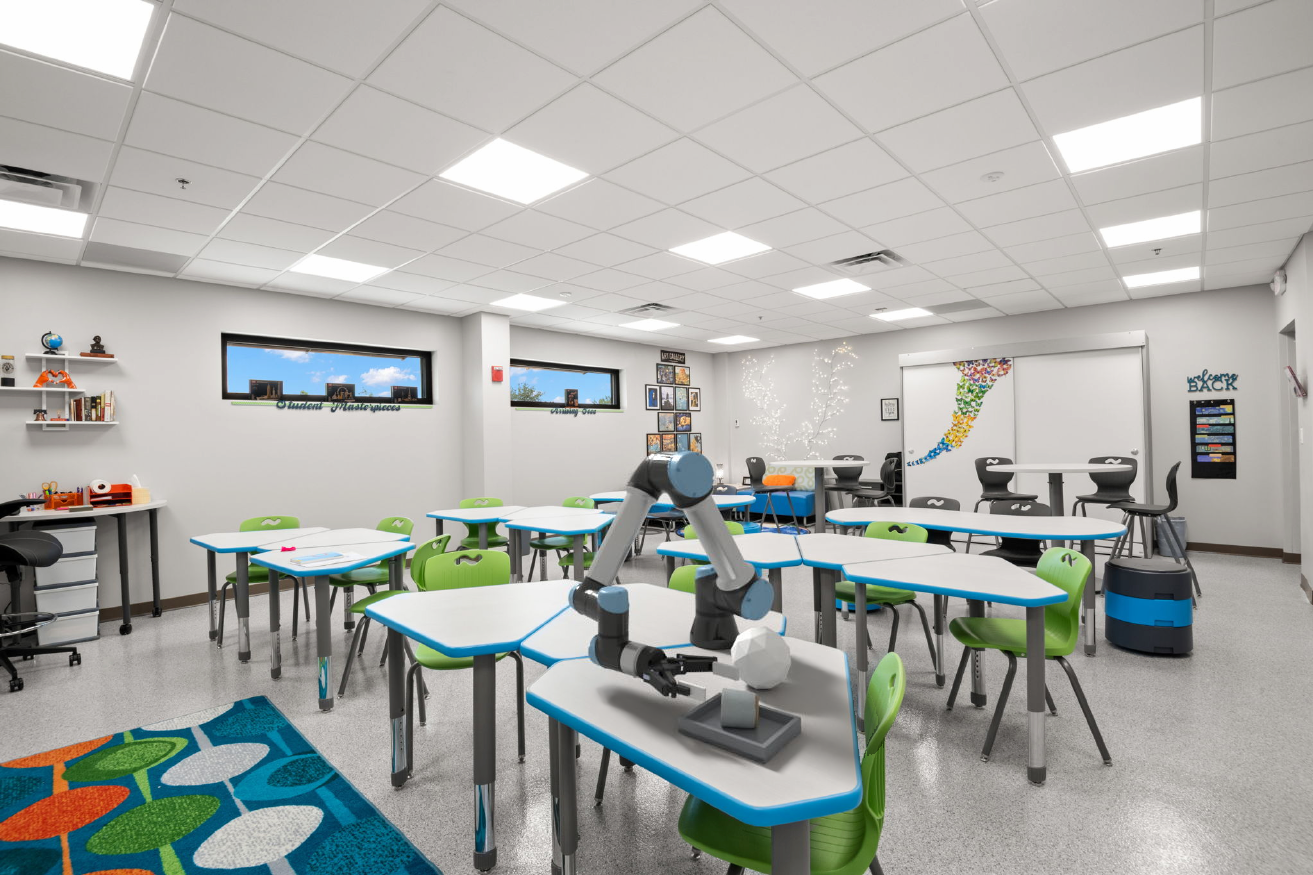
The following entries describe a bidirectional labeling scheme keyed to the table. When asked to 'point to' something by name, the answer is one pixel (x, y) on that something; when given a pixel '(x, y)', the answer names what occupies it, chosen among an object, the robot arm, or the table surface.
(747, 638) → the geometric shape
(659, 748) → the table surface
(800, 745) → the table surface
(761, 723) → the tray
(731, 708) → the grey rounded cylinder
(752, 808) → the table surface
